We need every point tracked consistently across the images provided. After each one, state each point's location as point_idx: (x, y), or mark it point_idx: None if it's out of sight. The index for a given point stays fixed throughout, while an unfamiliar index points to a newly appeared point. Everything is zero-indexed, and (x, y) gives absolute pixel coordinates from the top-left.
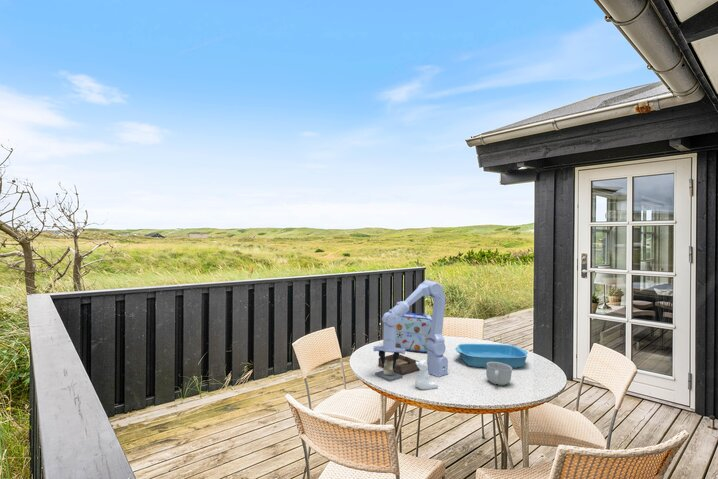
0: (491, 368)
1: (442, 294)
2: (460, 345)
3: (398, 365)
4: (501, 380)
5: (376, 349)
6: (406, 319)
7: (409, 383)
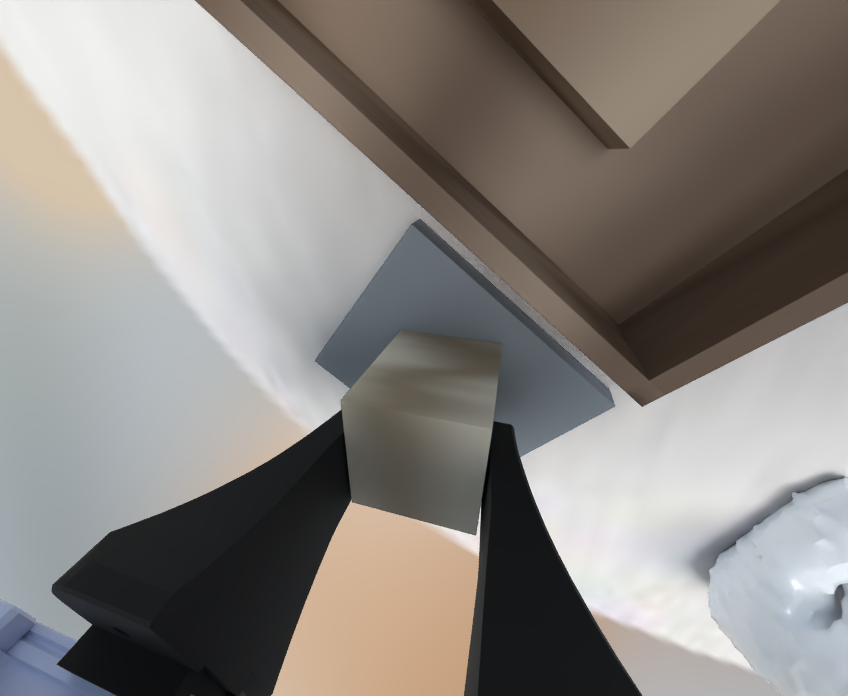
0: None
1: None
2: None
3: (589, 339)
4: None
5: (18, 687)
6: None
7: (660, 497)
